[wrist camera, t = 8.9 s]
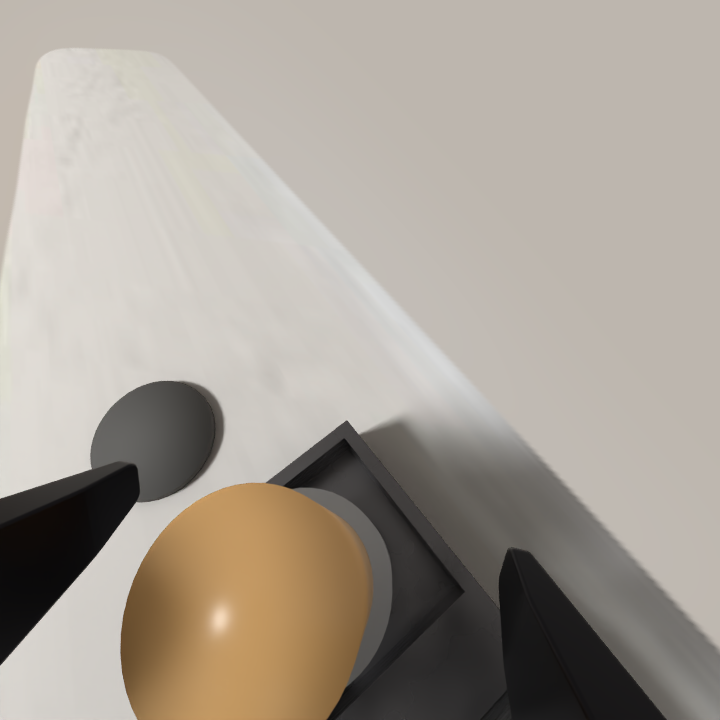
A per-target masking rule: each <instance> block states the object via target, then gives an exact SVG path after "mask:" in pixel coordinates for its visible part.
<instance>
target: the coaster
mask: <svg viewBox="0 0 720 720" xmlns="http://www.w3.org/2000/svg"><path fill="white" fill-rule="evenodd" d="M214 436H215V421H214V415H213V412H212V409H211V407H210V406H209V404H208V402H207V401H206V400H205V398H204V397H203V396H202V395H201V394H200V393H198V392H197V391H196V390H194V389H193V388H192V387H190V386H188V385H186V384H183V383H180V382H174V381H159V382H153V383H149V384H146V385H143V386H141V387H139V388H136V389H134V390H133V391H131V392H129V393H128V394H126V395H125V396H123V397H122V398H121V399H120V400H119V401H117V402H116V403H115V404H114V405H113V406H112V407H111V408H110V409H109V411H108V412H107V413H106V415H105V416H104V417H103V419H102V421H101V422H100V424H99V426H98V428H97V430H96V432H95V435H94V438H93V442H92V446H91V454H90V455H91V467H92V469H95V468H98V467H101V466H104V465H107V464H110V463H113V462H116V461H126V462H130V463H134V464H136V466H137V467H138V473H139V482H140V495H139V498H138V500H137V501H136V502H150V501H155V500H159V499H161V498H164V497H167V496H169V495H171V494H173V493H175V492H176V491H178V490H179V489H181V488H182V487H184V486H185V485H186V484H187V483H188V482H190V481H191V480H192V479H193V478H194V477H195V476H196V474H197V473H198V472H199V471H200V469H201V468H202V466H203V465H204V463H205V462H206V460H207V458H208V456H209V454H210V451H211V448H212V445H213V441H214Z"/></svg>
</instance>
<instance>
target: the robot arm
mask: <svg viewBox="0 0 720 720" xmlns="http://www.w3.org/2000/svg"><path fill="white" fill-rule="evenodd" d="M139 495H140V482H139V473H138V467H137V466H136V464H134V463H130V462H126V461H116V462H113V463H110V464H107V465H104V466H101V467H98V468H95V469H92V470H88V471H85V472H82V473H79V474H76V475H73V476H70V477H67V478H63V479H60V480H57V481H54V482H51V483H48V484H45V485H42V486H39V487H35V488H32V489H29V490H26V491H23V492H20V493H17V494H14V495H11V496H7V497H4V498H1V499H0V665H1V664H2V663H3V662H4V661H5V660H6V659H7V657H8V656H9V655H10V654H11V653H12V652H13V651H14V649H15V648H16V647H17V646H18V645H19V644H20V643H21V641H22V640H23V639H24V638H25V637H26V636H27V635H28V633H29V632H30V631H31V630H32V629H33V628H34V627H35V625H36V624H37V623H38V622H39V621H40V620H41V619H42V617H43V616H44V615H45V614H46V613H47V612H48V611H49V609H50V608H51V607H52V606H53V605H54V604H55V603H56V601H57V600H58V599H59V598H60V597H61V596H62V595H63V593H64V592H65V591H66V590H67V589H68V588H69V587H70V585H71V584H72V583H73V582H74V581H75V580H76V579H77V578H78V576H79V575H80V574H81V573H82V572H83V571H84V570H85V568H86V567H87V566H88V565H89V564H90V563H91V561H92V560H93V559H94V558H95V557H96V555H97V554H98V553H99V551H100V550H101V549H102V548H103V546H104V545H105V544H106V542H107V541H108V540H109V538H110V537H111V535H112V534H113V533H114V531H115V530H116V529H117V527H118V526H119V525H120V523H121V522H122V521H123V519H124V518H125V516H126V515H127V514H128V512H129V511H130V510H131V508H132V507H133V506H134V504H135V503H136V501H137V500H138V498H139ZM499 600H500V617H501V634H502V651H503V664H504V672H505V679H506V685H507V692H508V698H509V704H510V710H511V716H512V720H666V718H665V717H664V716H663V715H662V713H661V712H660V711H659V710H658V709H657V707H656V706H655V705H654V704H653V702H652V701H651V700H650V699H649V697H648V696H647V695H646V694H645V693H644V691H643V690H642V689H641V688H640V686H639V685H638V684H637V683H636V682H635V680H634V679H633V678H632V677H631V675H630V674H629V673H628V672H627V671H626V669H625V668H624V667H623V666H622V664H621V663H620V662H619V661H618V659H617V658H616V657H615V656H614V655H613V653H612V652H611V651H610V650H609V648H608V647H607V646H606V645H605V644H604V642H603V641H602V640H601V639H600V637H599V636H598V635H597V634H596V633H595V631H594V630H593V629H592V628H591V626H590V625H589V624H588V623H587V621H586V620H585V619H584V618H583V617H582V615H581V614H580V613H579V612H578V610H577V609H576V608H575V607H574V606H573V604H572V603H571V602H570V601H569V599H568V598H567V597H566V596H565V595H564V593H563V592H562V591H561V590H560V588H559V587H558V586H557V585H556V583H555V582H554V581H553V580H552V579H551V577H550V576H549V575H548V574H547V572H546V571H545V570H544V569H543V568H542V566H541V565H540V564H539V563H538V561H537V560H536V559H535V558H534V557H533V555H532V554H531V553H530V552H528V551H526V550H522V549H517V548H513V547H511V548H509V549H508V550H507V552H506V556H505V559H504V562H503V566H502V569H501V572H500V577H499Z"/></svg>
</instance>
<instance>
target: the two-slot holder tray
mask: <svg viewBox="0 0 720 720" xmlns="http://www.w3.org/2000/svg"><path fill="white" fill-rule="evenodd" d="M266 483H268V484H275V485H279V486H283V487H286V488H290V489H295V488H316V489H323V490H326V491H329V492H333V493H335V494H337V495H339V496H342V497H344V498H345V499H347V500H348V501H350V502H351V503H353V504H354V505H355V506H356V507H358V508H359V509H360V510H361V511H362V512H363V513H364V514H365V515H366V516H367V517H368V518H369V520H370V521H371V522H372V524H373V525H374V526H375V527H376V529H377V530H378V532H379V533H380V534H381V536H382V538H383V540H384V542H385V544H386V546H387V549H388V552H389V556H390V560H391V568H392V603H391V611H390V616H389V621H388V625H387V628H386V631H385V634H384V637H383V639H382V641H381V643H380V645H379V647H378V650H377V652H376V653H375V655H374V656H373V658H372V659H371V661H370V663H369V664H368V665H367V667H366V668H365V669H364V670H363V671H362V673H361V674H360V675H359V676H358V677H357V678H356V679H355V680H354V681H353V682H351V683H350V684H349V685H348V686H347V687H345V689H344V691H343V693H342V695H341V697H340V700H339V701H338V703H337V704H336V706H335V708H334V709H333V711H332V712H331V714H330V715H329V717H328V718H327V720H512V716H511V710H510V704H509V698H508V692H507V685H506V679H505V672H504V664H503V651H502V634H501V617H500V610H499V609H498V607H497V606H496V605H495V604H494V602H493V601H492V600H491V599H490V597H489V596H488V595H487V594H486V592H485V591H484V590H483V589H482V587H481V586H480V585H479V584H478V582H477V581H476V580H475V579H474V577H473V576H472V575H471V574H470V572H469V571H468V570H467V569H466V568H465V566H464V565H463V564H462V563H461V561H460V560H459V559H458V558H457V556H456V555H455V554H454V553H453V551H452V550H451V549H450V548H449V546H448V545H447V544H446V543H445V541H444V540H443V539H442V538H441V536H440V535H439V534H438V533H437V532H436V530H435V529H434V528H433V527H432V525H431V524H430V523H429V522H428V520H427V519H426V518H425V517H424V515H423V514H422V513H421V512H420V510H419V509H418V508H417V507H416V505H415V504H414V503H413V502H412V500H411V499H410V498H409V497H408V495H407V494H406V493H405V492H404V491H403V489H402V488H401V487H400V486H399V484H398V483H397V482H396V481H395V479H394V478H393V477H392V476H391V474H390V473H389V472H388V471H387V469H386V468H385V467H384V466H383V464H382V463H381V462H380V461H379V459H378V458H377V457H376V456H375V454H374V453H373V452H372V451H371V450H370V448H369V447H368V446H367V445H366V443H365V442H364V441H363V440H362V438H361V437H360V436H359V435H358V433H357V432H356V431H355V430H354V428H353V427H352V426H351V425H350V423H349V422H348V421H345V422H344V423H343V424H341V425H340V426H339V427H337V428H336V429H335V430H334V431H332V432H331V433H330V434H328V435H327V436H326V437H325V438H323V439H322V440H321V441H319V442H318V443H317V444H315V445H314V446H313V447H312V448H310V449H309V450H308V451H306V452H305V453H304V454H302V455H301V456H300V457H299V458H297V459H296V460H295V461H293V462H292V463H291V464H290V465H288V466H287V467H286V468H284V469H283V470H282V471H280V472H279V473H278V474H277V475H275V476H274V477H273V478H271V479H270V480H269V481H267V482H266Z"/></svg>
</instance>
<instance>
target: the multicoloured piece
mask: <svg viewBox="0 0 720 720" xmlns="http://www.w3.org/2000/svg"><path fill="white" fill-rule="evenodd" d="M391 603H392V568H391V560H390V556H389V552H388V549H387V546H386V544H385V542H384V540H383V538H382V536H381V534H380V533H379V532H378V530H377V529H376V527H375V526H374V525H373V524H372V522H371V521H370V520H369V518H368V517H367V516H366V515H365V514H364V513H363V512H362V511H361V510H360V509H359V508H358V507H356V506H355V505H354V504H353V503H351V502H350V501H348V500H347V499H345V498H344V497H342V496H339V495H337V494H335V493H333V492H329V491H326V490H323V489H316V488H295V489H290V488H286V487H283V486H279V485H275V484H268V483H246V484H239V485H234V486H230V487H227V488H223V489H220V490H218V491H216V492H213V493H211V494H209V495H207V496H205V497H203V498H201V499H200V500H198V501H196V502H195V503H193V504H192V505H191V506H189V507H188V508H186V509H185V510H184V511H183V512H181V513H180V514H179V515H178V516H177V517H176V518H175V519H174V520H173V521H172V522H171V523H170V524H169V525H168V526H167V527H166V528H165V529H164V530H163V532H162V533H161V534H160V535H159V537H158V538H157V539H156V541H155V542H154V543H153V545H152V546H151V547H150V549H149V551H148V553H147V554H146V556H145V558H144V559H143V561H142V563H141V565H140V567H139V569H138V571H137V574H136V576H135V578H134V580H133V583H132V586H131V589H130V592H129V595H128V598H127V602H126V607H125V611H124V615H123V623H122V630H121V665H122V674H123V679H124V684H125V688H126V692H127V695H128V698H129V701H130V704H131V707H132V709H133V711H134V713H135V715H136V717H137V719H138V720H327V718H328V717H329V715H330V714H331V712H332V711H333V709H334V708H335V706H336V704H337V703H338V701H339V700H340V697H341V695H342V693H343V691H344V689H345V687H347V686H348V685H349V684H350V683H351V682H353V681H354V680H355V679H356V678H357V677H358V676H359V675H360V674H361V673H362V671H363V670H364V669H365V668H366V667H367V665H368V664H369V663H370V661H371V659H372V658H373V656H374V655H375V653H376V652H377V650H378V647H379V645H380V643H381V641H382V639H383V637H384V634H385V631H386V628H387V625H388V621H389V616H390V611H391Z"/></svg>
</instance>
